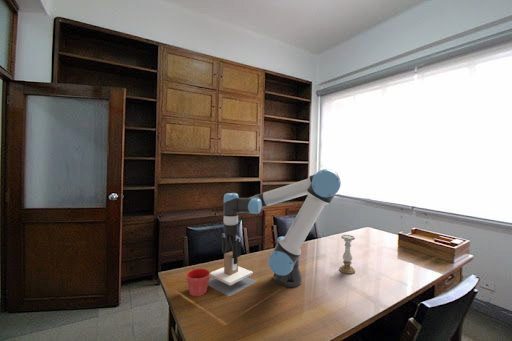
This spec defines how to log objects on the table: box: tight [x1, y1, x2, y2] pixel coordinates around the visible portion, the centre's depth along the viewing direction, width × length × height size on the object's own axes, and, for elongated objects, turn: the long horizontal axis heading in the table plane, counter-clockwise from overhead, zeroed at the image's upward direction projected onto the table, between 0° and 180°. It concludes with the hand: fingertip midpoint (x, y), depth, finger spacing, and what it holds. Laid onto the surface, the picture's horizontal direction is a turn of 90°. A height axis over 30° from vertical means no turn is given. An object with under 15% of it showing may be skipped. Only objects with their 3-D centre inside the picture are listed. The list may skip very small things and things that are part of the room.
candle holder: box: [338, 234, 356, 275], centre depth 144 cm, size 9×9×20 cm
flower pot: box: [186, 268, 211, 297], centre depth 117 cm, size 11×11×10 cm
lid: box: [210, 250, 254, 285], centre depth 127 cm, size 16×16×11 cm
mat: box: [208, 276, 258, 297], centre depth 127 cm, size 20×20×1 cm
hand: (231, 268), depth 127 cm, fingers closed on lid, 4 cm apart
